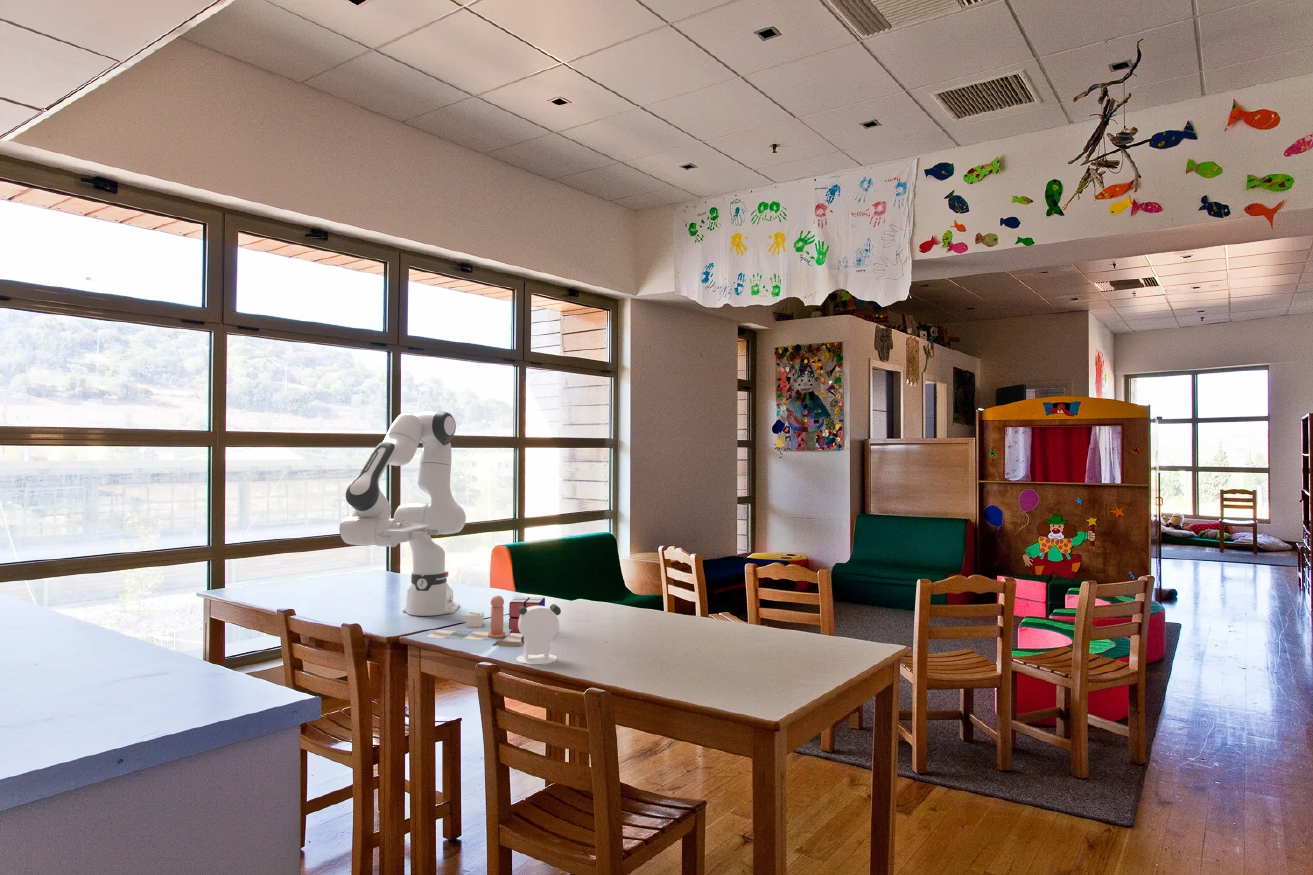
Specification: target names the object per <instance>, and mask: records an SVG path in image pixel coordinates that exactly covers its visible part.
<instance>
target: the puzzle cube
mask: <svg viewBox="0 0 1313 875" xmlns="http://www.w3.org/2000/svg"><path fill="white" fill-rule="evenodd" d="M508 605H509V607H508V608H509V609H508V610H509V611H508V612H509V613H508V617H509V618H508V630H511V631H509V632H508V633H520V631H519V629H518V620H519V617H520V613H519V612H518V607H519V606H524V607H525V608H528V607H531V606H545V607H546V597H545V596H514V598H513V599H512V600H511V601H510V602H509V604H508Z"/></svg>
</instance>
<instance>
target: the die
mask: <svg viewBox="0 0 1313 875" xmlns="http://www.w3.org/2000/svg"><path fill="white" fill-rule="evenodd" d="M484 615H485V613H484V612H482V611H481V612H468V613H466V615H465V627H466V628H474V627H475V628H477V627H478V628H479V627H480V628H481V627H483V626H484V623H485V622H484V621H485V620H484V618H485V616H484Z"/></svg>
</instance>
